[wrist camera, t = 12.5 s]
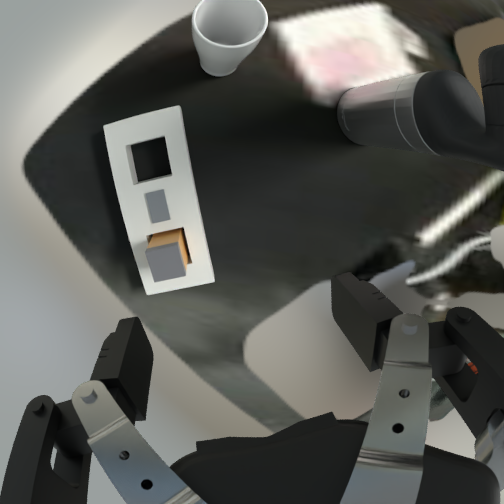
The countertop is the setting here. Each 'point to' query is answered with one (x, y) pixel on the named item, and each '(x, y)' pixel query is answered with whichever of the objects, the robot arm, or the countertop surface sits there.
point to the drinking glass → (227, 32)
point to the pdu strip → (159, 195)
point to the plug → (167, 255)
